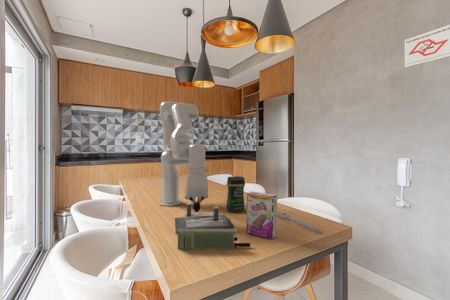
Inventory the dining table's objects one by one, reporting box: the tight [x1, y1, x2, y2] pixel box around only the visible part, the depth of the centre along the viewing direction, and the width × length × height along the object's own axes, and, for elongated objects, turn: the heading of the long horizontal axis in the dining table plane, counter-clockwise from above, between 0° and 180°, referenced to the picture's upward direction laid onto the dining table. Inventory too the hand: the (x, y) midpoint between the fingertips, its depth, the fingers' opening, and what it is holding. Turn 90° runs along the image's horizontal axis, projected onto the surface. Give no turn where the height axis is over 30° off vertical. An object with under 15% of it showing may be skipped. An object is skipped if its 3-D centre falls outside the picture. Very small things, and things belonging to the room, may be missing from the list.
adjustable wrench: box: [278, 212, 322, 234], centre depth 102 cm, size 25×6×2 cm, turn 19°
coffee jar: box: [225, 175, 246, 213], centre depth 120 cm, size 10×8×19 cm
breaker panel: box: [174, 211, 235, 235], centre depth 98 cm, size 15×24×4 cm, turn 104°
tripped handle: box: [186, 201, 192, 216], centre depth 101 cm, size 2×2×6 cm
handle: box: [213, 205, 220, 221], centre depth 95 cm, size 2×2×6 cm
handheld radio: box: [177, 228, 251, 250], centre depth 77 cm, size 7×3×25 cm
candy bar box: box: [245, 191, 278, 240], centre depth 88 cm, size 11×5×16 cm, turn 59°
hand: (196, 211), depth 102 cm, fingers closed
